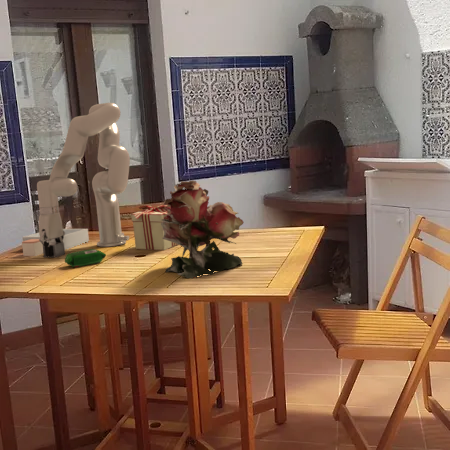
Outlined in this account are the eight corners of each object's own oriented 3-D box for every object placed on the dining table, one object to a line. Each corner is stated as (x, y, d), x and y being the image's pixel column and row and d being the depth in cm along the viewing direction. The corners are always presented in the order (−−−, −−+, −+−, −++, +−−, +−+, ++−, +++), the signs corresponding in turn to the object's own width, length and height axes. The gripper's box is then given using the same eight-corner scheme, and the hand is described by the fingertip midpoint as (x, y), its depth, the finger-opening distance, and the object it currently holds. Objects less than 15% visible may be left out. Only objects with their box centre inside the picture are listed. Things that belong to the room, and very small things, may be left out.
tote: (89, 241, 288) (87, 228, 287) (62, 251, 270) (60, 237, 269) (52, 241, 296) (51, 229, 295) (23, 250, 278) (22, 237, 277)
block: (65, 254, 262) (63, 242, 261) (56, 257, 257) (54, 245, 256) (53, 254, 264) (51, 242, 264) (43, 257, 259) (42, 245, 258)
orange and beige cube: (44, 253, 269) (42, 239, 268) (35, 256, 263) (33, 241, 262) (32, 253, 271) (31, 239, 270) (23, 256, 265) (21, 241, 264)
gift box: (129, 251, 258) (125, 209, 256) (151, 242, 275) (148, 203, 272) (167, 251, 252) (163, 208, 249) (187, 242, 268) (184, 202, 266)
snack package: (109, 262, 240) (108, 248, 239) (68, 269, 232) (67, 255, 231) (102, 260, 246) (101, 246, 245) (62, 266, 238) (61, 253, 237)
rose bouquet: (254, 262, 222) (249, 175, 217) (192, 280, 201) (185, 185, 197) (203, 255, 240) (197, 175, 235) (142, 271, 219) (134, 184, 215)
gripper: (55, 207, 267) (59, 250, 270) (27, 214, 251) (33, 259, 254) (70, 207, 264) (74, 250, 267) (43, 214, 248) (48, 259, 251)
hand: (54, 254), depth 260 cm, fingers closed on block, 6 cm apart
